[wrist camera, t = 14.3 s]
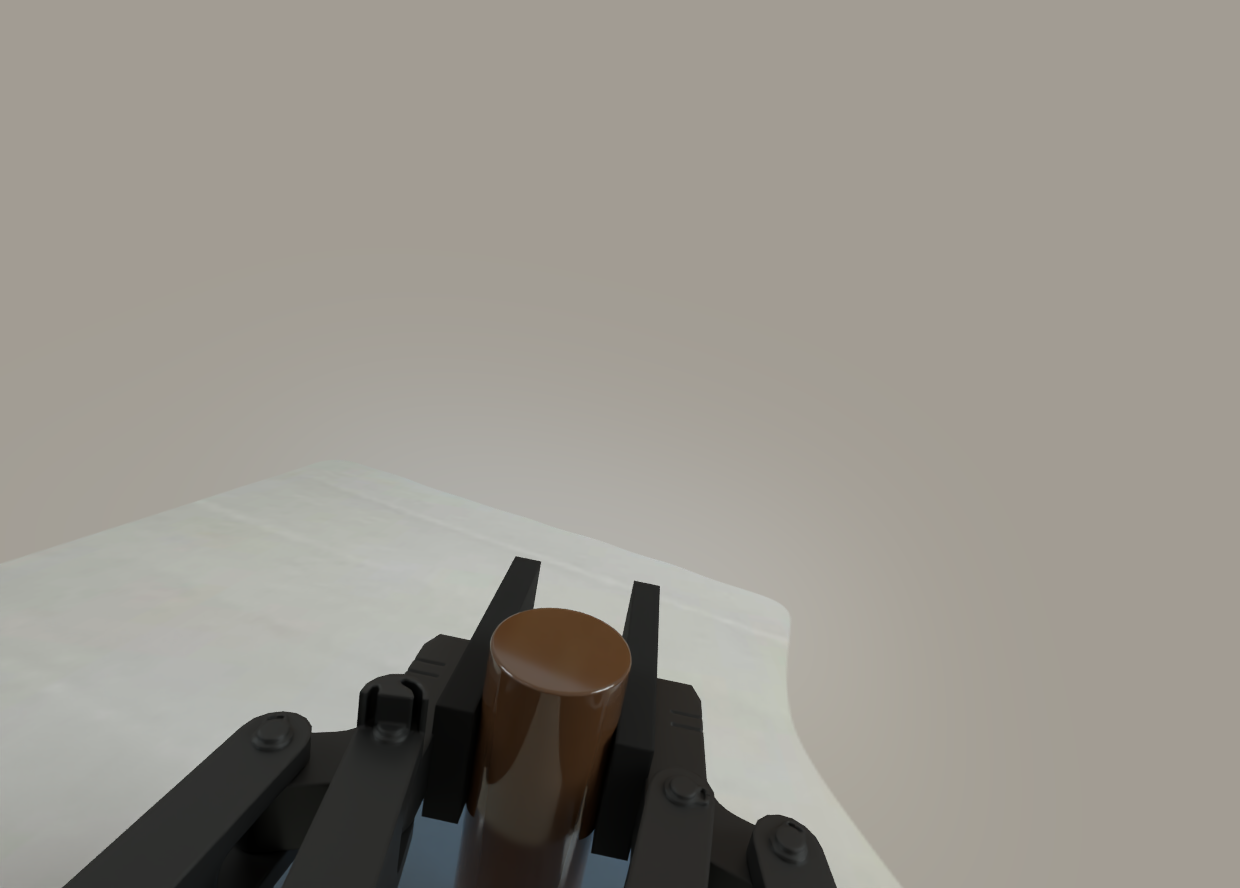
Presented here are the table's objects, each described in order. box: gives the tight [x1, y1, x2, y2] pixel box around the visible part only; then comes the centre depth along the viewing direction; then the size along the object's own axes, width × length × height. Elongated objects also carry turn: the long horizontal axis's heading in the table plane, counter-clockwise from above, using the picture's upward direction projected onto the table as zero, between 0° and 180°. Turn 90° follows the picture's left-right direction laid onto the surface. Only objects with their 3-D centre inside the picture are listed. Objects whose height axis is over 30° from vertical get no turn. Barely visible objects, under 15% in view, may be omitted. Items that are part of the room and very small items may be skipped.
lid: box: [273, 608, 632, 888], centre depth 14 cm, size 13×13×10 cm
